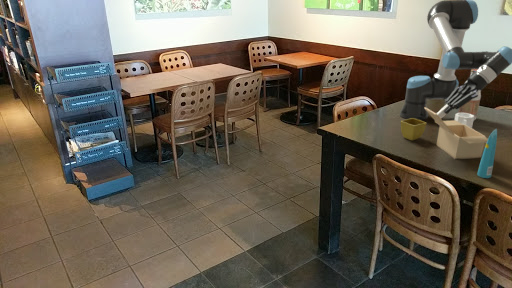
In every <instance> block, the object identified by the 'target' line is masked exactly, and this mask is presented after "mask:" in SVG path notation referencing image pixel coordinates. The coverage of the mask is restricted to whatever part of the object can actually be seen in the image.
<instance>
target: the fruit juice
mask: <svg viewBox="0 0 512 288" xmlns="http://www.w3.org/2000/svg"><path fill="white" fill-rule="evenodd" d="M476 70H478V69H470V75H469V77H470V76H471V75H472V74H473V73H475V71H476ZM466 82H467V80H466V81H465V82H464V84H465V83H466ZM481 92H482V90H478V91H477V95H478V96H477V97H476V98H473V99H472V100H470V101H469V102H467V103H466V104H464V105H463V106H461V107H460V108H458V111H457V113H468V114H472V115H474V121H476V120H477V115H478V113H479V111H478V110H479V107H480V101H481V98H482V95H481V94H482V93H481Z"/></svg>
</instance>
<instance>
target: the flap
mask: <svg viewBox="0 0 512 288" xmlns="http://www.w3.org/2000/svg"><path fill="white" fill-rule="evenodd" d="M424 109H425V110H426V111H427V112H428V115H429V116H430V117H431V118H432V119H433V120H434V122H435V121H436V122H437V123H438V124H437V123H436V122H435V123H436V124H437V125H438V126H439V128H440V127H441V128H443V129H444V130H446V131H447V132H449V133H450V134H452V135H454V133H453V132H452V131H451V130H450V129H449V128H448V126H447V125H446V124H445V123H444V122H443V121H444V120H443V119H442V118H440V117H439V116H438V115H437V114H436V113H437V112H434V111H432V109H429V108H428V107H427V108H426V107H425V108H424Z"/></svg>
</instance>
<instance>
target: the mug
mask: <svg viewBox="0 0 512 288" xmlns="http://www.w3.org/2000/svg"><path fill="white" fill-rule="evenodd" d="M454 115H455V116H454V120H456V121H458V122H459V123H461V124H465V125H466V126H468V127H470V128H472V129H473V125H474V124H473V123H474V121H475V120H474V115H472V114H468V113H458V112H457V113H455V114H454Z"/></svg>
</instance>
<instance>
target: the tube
mask: <svg viewBox="0 0 512 288" xmlns="http://www.w3.org/2000/svg"><path fill="white" fill-rule="evenodd" d="M487 138H488V141H487V143H485V145H484V148H483V152H482V156H481V158H480V163H479V166H478V170H477V174H476V175H477V177H479V178H481V179H490V178H492V173H493V168H494V163H495V155H496V150H497V142H498V141H497V140H498V139H497V138H498V129H497V128H495V129H493V130H492V132H491V133H490V134H489V136H488V137H487Z"/></svg>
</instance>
